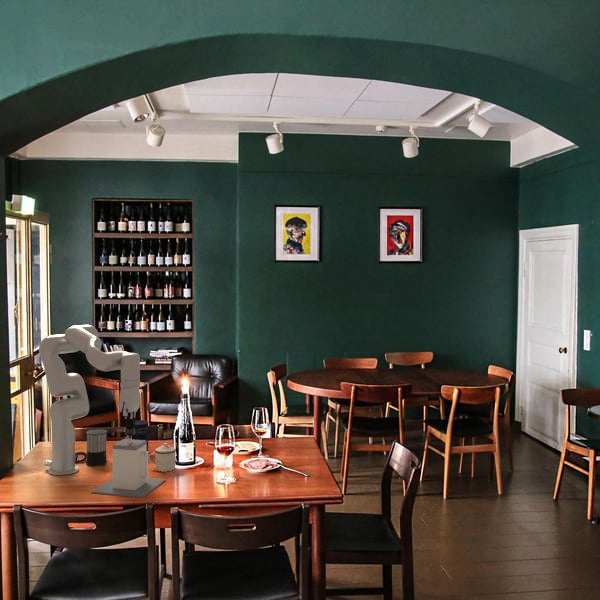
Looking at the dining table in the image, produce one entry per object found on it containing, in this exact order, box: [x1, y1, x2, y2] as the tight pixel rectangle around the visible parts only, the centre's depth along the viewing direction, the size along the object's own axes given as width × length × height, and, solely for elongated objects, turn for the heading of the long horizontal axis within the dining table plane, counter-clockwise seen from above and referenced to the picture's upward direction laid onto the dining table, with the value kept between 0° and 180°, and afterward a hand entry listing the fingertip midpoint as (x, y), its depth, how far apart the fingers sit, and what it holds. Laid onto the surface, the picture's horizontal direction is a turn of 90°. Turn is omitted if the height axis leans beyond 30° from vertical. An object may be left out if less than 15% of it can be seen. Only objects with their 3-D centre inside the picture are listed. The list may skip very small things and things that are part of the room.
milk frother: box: [75, 428, 108, 467], centre depth 301 cm, size 14×16×15 cm
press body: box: [111, 438, 149, 490], centre depth 268 cm, size 13×10×18 cm
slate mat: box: [90, 477, 166, 499], centre depth 268 cm, size 22×22×1 cm
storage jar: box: [132, 419, 149, 452], centre depth 319 cm, size 10×10×15 cm
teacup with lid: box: [148, 442, 177, 473], centre depth 293 cm, size 12×9×12 cm
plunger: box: [124, 427, 135, 443], centre depth 268 cm, size 4×4×18 cm
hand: (130, 428), depth 267 cm, fingers closed
